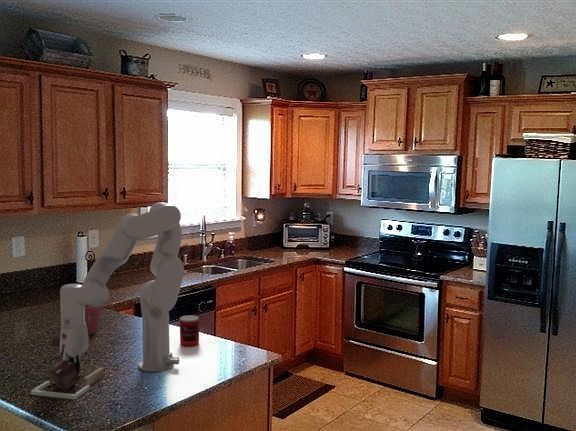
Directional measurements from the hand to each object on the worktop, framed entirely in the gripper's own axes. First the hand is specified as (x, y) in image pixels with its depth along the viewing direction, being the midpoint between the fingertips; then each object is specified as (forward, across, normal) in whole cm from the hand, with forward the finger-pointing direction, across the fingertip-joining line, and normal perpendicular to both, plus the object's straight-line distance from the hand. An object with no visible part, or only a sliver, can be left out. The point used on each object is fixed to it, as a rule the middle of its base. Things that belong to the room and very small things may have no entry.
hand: (74, 373), depth 194 cm
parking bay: (+3, -8, -1) cm, 9 cm away
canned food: (+3, +46, -21) cm, 51 cm away
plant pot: (+3, +48, +29) cm, 57 cm away
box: (+2, -4, -1) cm, 5 cm away
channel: (+3, +2, -1) cm, 3 cm away
